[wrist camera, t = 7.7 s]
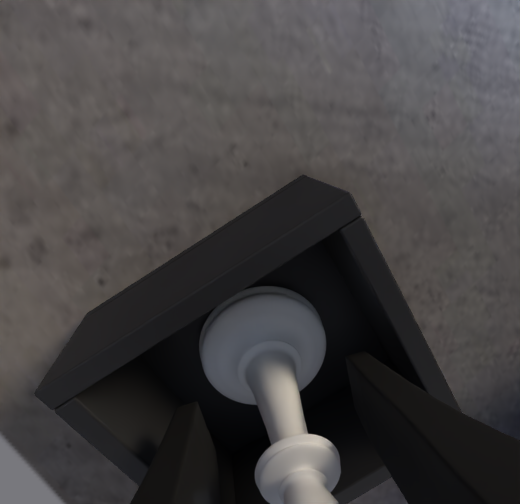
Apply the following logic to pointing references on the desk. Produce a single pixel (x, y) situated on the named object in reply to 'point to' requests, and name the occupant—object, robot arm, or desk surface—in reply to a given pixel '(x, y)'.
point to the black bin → (195, 315)
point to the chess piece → (274, 386)
